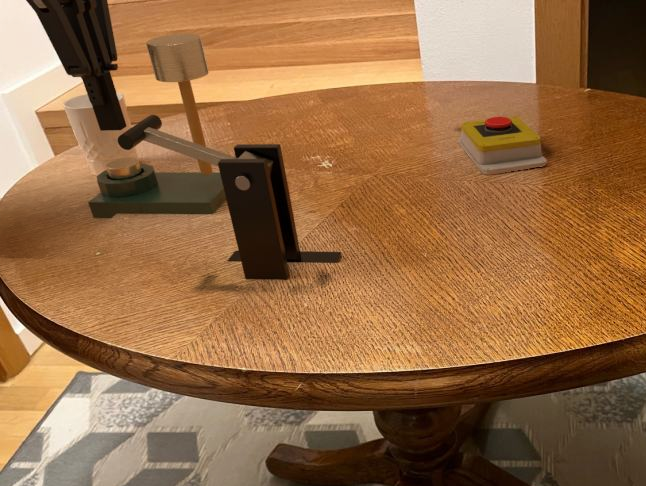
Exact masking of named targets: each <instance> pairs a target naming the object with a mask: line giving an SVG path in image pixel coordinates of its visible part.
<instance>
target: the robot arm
mask: <svg viewBox="0 0 646 486" xmlns="http://www.w3.org/2000/svg"><path fill="white" fill-rule="evenodd" d="M25 1H26V3H28V5H29V6H30V7H31V9H32V10H33V11H34V12H35V14H36V16H37V18H38V20H39V22H40V24H41V26H42V29H44V32H45V34H46V35H47V37H48V40H49V42H50V43H51V45H52V48H53V49H54V51H55V53H56V55H57V57H58V60H59V61H60V63H61V65H62V67H63V69H64V71H65V73H66V75H67V76H71V77H72V78H81V80H82V82H83V86H84V89H85V91H86V94H88V96H89V100H90V102H91V104H92V107H93V110H94V113H95V116H96V119H97V122H98V125H99V128H100V131H106V130H122V129H123V128H125V127H126V126H127V125H126V122H125V119H124V116H123V113H122V110H121V106H120V103H119V100H118V97H117V93H116V92H117V89H116V86H115V83H114V80H113V77H112V74H111V71H118V69H119V65H118V63H113V62H117V61H118V52H117V47H116V41H115V34H114V30H113V25H112V18H111V12H110V9H109V3H108V0H25Z"/></svg>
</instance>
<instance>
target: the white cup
mask: <svg viewBox="0 0 646 486" xmlns="http://www.w3.org/2000/svg"><path fill="white" fill-rule="evenodd" d="M116 93H117V97H118V100H119V103H120V106H121V110H122V113H123V116H124V119H125V122H126V125H127V126H126V127H125V128H123V129H122V130H106V131H100V128H99V125H98V122H97V119H96V116H95V113H94V110H93V107H92V104H91V102H90V100H89V96H88V94H87V93H84V94H80V95H77V96H74V97H71V98H69V99H67V100H65V101H63V104H62V106H63V108H64V111H65V113H66V117H67V119H68V122H69V125H70V127H71V129H72V131H73V134H74V137H75V139H76V141H77V143H78V146H79V148H80V150H81V153H82V155H83V157H84V158H85V161H86V163H87V166H88V168H89V171H90V174H91V175H92V176H95V177H97V176H98V175H99V174H100V173H102V172H103V171H105V170H107V169H106V164H107V163H109V162H111V161H114V160H117V159H121V158H136V159H138V160H139V156H138V153H137V147H136V146H137V145H136V146H135V147H133V148H132V149H130V150H125V149H123V148H121V147H120V145H119V144H118V137H119V136H120V135H121V134H123V133H124V132H126V131H127V130H129V129H130V128H132V127H133V126H132V124H131V123H132V122H131V118H130V114H129V111H128V108H127V103H126V99H125V95H124V94H123V93H122V92H119V91H118V92H117V91H116Z"/></svg>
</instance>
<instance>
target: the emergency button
mask: <svg viewBox="0 0 646 486" xmlns="http://www.w3.org/2000/svg"><path fill="white" fill-rule="evenodd" d="M457 142H458V145H459V146H460V147H461V148H462V149H463V151H464V152H465V153H466V154H467V156H468V157H469V158H470V160H471V161H472V163H473V164H474V165H475V166H476V168H477V169H478V170H479V171H480V173H481V174H483V175H487V176H489V175H491V176H492V175H499V174H505V172H506V173H512V172H511V171H514V172H519V171H518V170H521V171H524V170H523V169H528V168H533V167H540V166H545V165H546V164H547V165H548V159H547V158H546V157H545V156H544V155H543V154H542V138H541V136H540V135H539V134H538V133H537V132H536V131H535V130H533V128H532V127H530V126H529V125H528V124H527V123H526V122H525V121H523V119H521V118H520V117H519V116H515V115H513V116H494V117H489V118H487V119H480V120H479V119H478V120H472V121H471V120H470V121H465V122H464V121H463V122H462V123H461V125H460V136H458V141H457ZM528 170H529V169H528Z"/></svg>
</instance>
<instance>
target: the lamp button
mask: <svg viewBox="0 0 646 486" xmlns="http://www.w3.org/2000/svg"><path fill="white" fill-rule="evenodd" d="M140 164H141V163H140V160H139V158H138V159H136V158H121V159H117V160H114V161H111V162H109V163H107V164H106V169H107V172H108V175H109V178H110V180H125V179H131V178H134V177H136V176H139V175H141V174H142V170H141V166H140Z"/></svg>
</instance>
